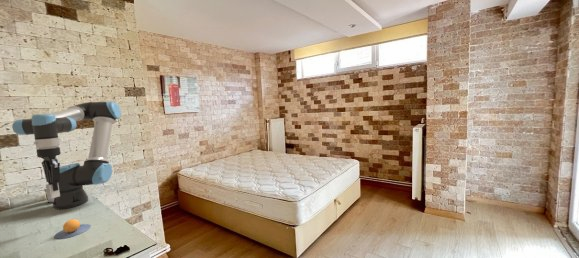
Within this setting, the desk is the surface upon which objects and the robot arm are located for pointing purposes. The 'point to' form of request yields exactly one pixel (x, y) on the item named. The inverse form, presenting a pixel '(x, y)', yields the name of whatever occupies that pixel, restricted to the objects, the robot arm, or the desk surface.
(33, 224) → the desk surface
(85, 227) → the disc
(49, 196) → the supplement box
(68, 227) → the ball
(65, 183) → the robot arm
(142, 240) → the desk surface
